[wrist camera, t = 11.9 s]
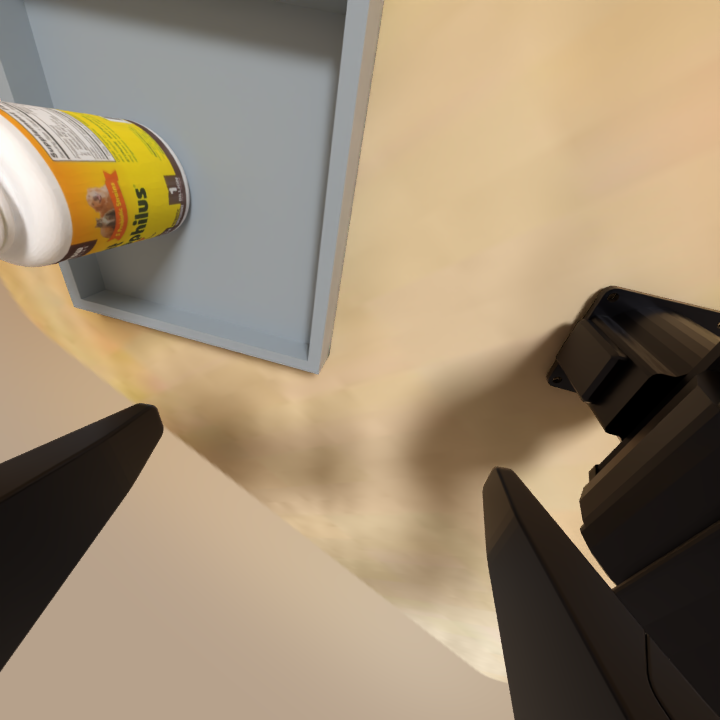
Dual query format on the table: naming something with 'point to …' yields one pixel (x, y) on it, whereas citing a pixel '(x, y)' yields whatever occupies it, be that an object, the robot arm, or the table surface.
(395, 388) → the table surface
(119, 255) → the tray
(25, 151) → the supplement bottle
